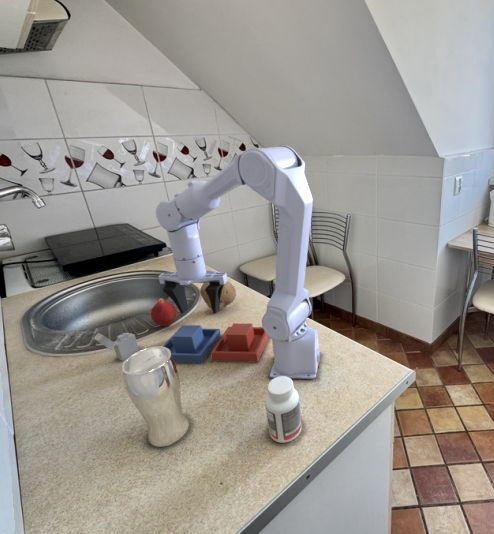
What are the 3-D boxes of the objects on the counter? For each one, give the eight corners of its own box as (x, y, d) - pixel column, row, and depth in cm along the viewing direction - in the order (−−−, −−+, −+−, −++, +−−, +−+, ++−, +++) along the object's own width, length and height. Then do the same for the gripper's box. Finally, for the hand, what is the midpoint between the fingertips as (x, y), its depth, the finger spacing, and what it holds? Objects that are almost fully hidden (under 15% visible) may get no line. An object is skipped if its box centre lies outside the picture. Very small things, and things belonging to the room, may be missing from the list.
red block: (254, 339, 77) (252, 323, 75) (248, 351, 73) (246, 335, 71) (236, 339, 77) (233, 323, 76) (229, 351, 73) (225, 334, 71)
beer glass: (143, 456, 50) (115, 381, 44) (148, 422, 56) (124, 352, 50) (191, 440, 53) (171, 367, 47) (191, 409, 58) (173, 341, 53)
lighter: (135, 348, 76) (125, 319, 72) (139, 350, 75) (130, 320, 72) (103, 366, 70) (91, 335, 67) (108, 368, 69) (96, 338, 66)
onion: (169, 333, 81) (161, 305, 78) (149, 331, 82) (141, 303, 79) (184, 321, 86) (177, 294, 83) (165, 319, 87) (158, 293, 84)
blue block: (204, 341, 77) (201, 325, 75) (195, 353, 73) (191, 336, 71) (186, 341, 77) (182, 324, 75) (176, 353, 73) (171, 336, 71)
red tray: (269, 334, 80) (268, 327, 79) (257, 362, 70) (256, 353, 69) (229, 334, 80) (228, 326, 79) (212, 360, 71) (210, 352, 70)
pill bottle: (303, 416, 57) (299, 372, 53) (300, 443, 52) (295, 397, 48) (272, 417, 57) (266, 373, 53) (266, 444, 52) (259, 398, 48)
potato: (233, 298, 97) (228, 268, 93) (242, 311, 90) (237, 279, 86) (202, 307, 93) (195, 275, 89) (208, 321, 86) (201, 287, 82)
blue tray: (221, 336, 79) (219, 328, 79) (202, 363, 70) (200, 355, 69) (181, 335, 80) (179, 327, 79) (157, 362, 71) (155, 354, 70)
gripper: (144, 262, 65) (160, 319, 71) (213, 262, 65) (224, 320, 70) (163, 250, 72) (176, 304, 77) (226, 250, 71) (235, 304, 76)
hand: (200, 310), depth 74 cm, fingers open, 7 cm apart
